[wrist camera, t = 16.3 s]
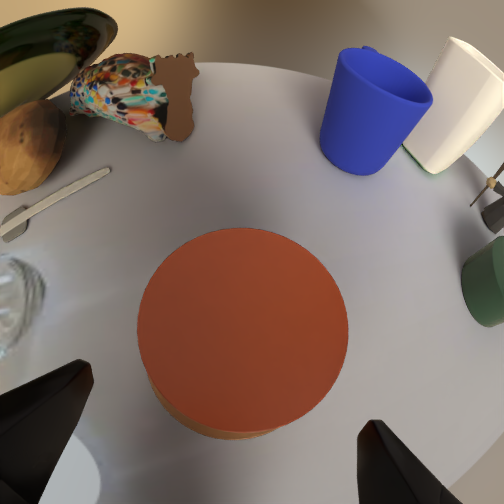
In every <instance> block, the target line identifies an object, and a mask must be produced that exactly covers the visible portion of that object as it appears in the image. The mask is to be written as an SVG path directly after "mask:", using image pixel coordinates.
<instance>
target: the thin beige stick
mask: <svg viewBox="0 0 504 504" xmlns="http://www.w3.org/2000/svg"><path fill="white" fill-rule="evenodd" d="M109 172H110V171H109V168H104V169H102V170H99V171H97V172H95V173H92V174H90V175H88V176H86V177H84V178H82V179H80V180H78V181H76V182H74V183H72V184H70V185H68V186H66V187H64V188H63V189H61V190H59V191H57V192H55V193H54V194H52V195H50V196H48V197H47V198H45V199H43V200H41V201H40V202H38V203H36V204H35V205H33V206H32V207H30V208H28V209H27V210H26V209H25V208H24V207H20V208H18V209H17V210H15V211H14V212H12V213H11V214H9V215H8V216H6V217H5V218H4V220H3V222H2V226H1V227H0V237H1V236H2V237H3V241H4V242H6V243H7V242H10V241H11V240H13V239H14V238H16V237H17V236H19V235H20V234H22V233H23V232H24V231H25V230H26V228H27V219H28V218H30V217H32V216H33V215H35V214H36V213H38V212H40V211H41V210H43V209H45V208H47V207H48V206H50V205H52V204H53V203H55V202H57V201H59V200H61V199H62V198H64V197H66V196H68V195H70V194H72V193H73V192H75V191H77V190H79V189H81V188H83V187H85V186H86V185H88V184H90V183H92V182H94V181H96V180H97V179H99V178H101V177H103V176H105V175H106V174H108V173H109Z"/></svg>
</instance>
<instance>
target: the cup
mask: <svg viewBox="0 0 504 504" xmlns="http://www.w3.org/2000/svg"><path fill="white" fill-rule="evenodd" d="M425 84H426V85H427V87H428V88H429V90H430V91H431V93H432V96H433V103H432V105H431V107H430V108H429V109H428V111H427V112H426V113H425V114H424V116H423V117H422V118H421V120H420V121H419V122H418V124H417V125H416V126H415V128H414V129H413V130H412V131H411V133H410V134H409V135H408V137H407V138H406V139H405V140H404V142H403V145H404V147H405V149H406V150H407V151H408V152H409V153H410V154H411V156H412V157H413V158H414V159H415V160H416V161H417V162H418V163H419V165H420V166H421V167H422V168H423V169H424V170H425V171H427V172H429V173H432V174H437V173H439V172H441V171H443V170H445V169H446V168H448V167H449V166H450V165H452V164H453V163H454V162H455V161H456V160H457V159H458V158H459V157H461V156H462V155H463V154H464V153H465V152H466V151H467V150H468V149H469V148H470V147H471V146H472V145H473V144H474V143H475V142H476V141H477V140H478V139H479V138H480V136H481V135H482V134H483V133H484V132H485V131H486V130H487V128H488V127H489V126H490V125H491V124H492V123H493V121H494V120H495V119H496V118H497V116H498V115H499V114H500V112H501V111H502V110H503V108H504V73H503V72H502V71H501V70H500V69H499V68H498V67H497V66H495V64H493V63H492V62H491V61H490V60H489V59H488V58H487V57H485V56H484V55H483V54H482V53H480V52H479V51H478V50H477V49H475V48H474V47H473V46H471V45H470V44H468V43H466V42H463V41H461V40H459V39H456V38H454V37H448V40H447V42H446V43H445V45H444V47H443V49H442V51H441V53H440V55H439V57H438V59H437V61H436V63H435V65H434V67H433V69H432V71H431V73H430V75H429V77H428V79H427V81H426V83H425Z"/></svg>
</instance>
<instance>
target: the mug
mask: <svg viewBox="0 0 504 504" xmlns="http://www.w3.org/2000/svg"><path fill="white" fill-rule="evenodd" d="M432 103H433V96H432V93H431V91H430V90H429V88H428V87H427V85H426V84H425V83H424V82H423V81H422V80H421V79H420V78H419V77H418V76H417V75H416V74H414V73H413V72H412V71H411V70H409V69H408V68H406V67H405V66H403V65H402V64H400V63H398V62H397V61H394V60H393V59H391V58H389V57H386V56H384V55H382V54H379V53H378V52H377V51H376V50H375V49H373V48H371V47H368V46H363V47H362V49H360V48H348V49H344V50H342V51H341V52H340V53H339V56H338V60H337V65H336V69H335V73H334V78H333V82H332V86H331V90H330V94H329V98H328V102H327V106H326V110H325V114H324V118H323V122H322V126H321V130H320V145H321V148H322V151H323V152H324V154H325V156H326V157H327V158H328V159H329V160H330V161H331V162H332V163H333V164H334V165H335V166H337V167H338V168H340V169H342V170H343V171H346V172H348V173H351V174H355V175H363V176H364V175H371V174H373V173H376V172H377V171H379V170H380V169H381V168H382V167H383V166H384V165H385V164H386V163H387V162H388V160H389V159H390V158H391V157H392V155H393V154H394V153H395V152H396V150H397V149H398V148H399V147H400V145H401V144H402V143H403V142H404V140H405V139H406V138H407V137H408V135H409V134H410V133H411V131H412V130H413V129H414V128H415V126H416V125H417V124H418V122H419V121H420V120H421V118H422V117H423V116H424V114H425V113H426V112H427V111H428V109H429V108H430V107H431V105H432Z"/></svg>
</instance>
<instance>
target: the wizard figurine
mask: <svg viewBox="0 0 504 504" xmlns="http://www.w3.org/2000/svg"><path fill="white" fill-rule="evenodd" d="M503 170H504V163H503V164H502V165H501V167H500V168H499V170H498V171H497V172H496V174H495V175H494V176H493V177H490V178H487V181H486V184H487V185H486V187H485V188H484V189H483V190H482V191H481V193H480V194H479V195H478V196H477V198H476V199H475V200H474V201H473V202H472V203H471V205H470V206H472V205H473V204H474V203H475V201H476V200H477V199H478V198H479V197H480V196H481V195H482V194H483V193H484V192H485V190H486V189H487V188H488V187H490V189H492V188H494V190H493V191H495V192H497V193H498V194H500V195H502V196H503V197H502V198H500V199H498V200H497V201H495V202H493V203H492V204H490V205H488V206H487V207H485V208H484V211H483V212H482V213H481V214H482V216H483V219H484V220H485V222H486V224H487V225H488V227H489V229H490V230H492V231H493V232H494V233H495V234H496V233H497V232H499V231H500V230H501V229H502V228H503V227H504V187H503V186H502V185H501V184H500V182H499V181H498V182H497V183H496V180H495V179H496V178H497V177H498V176H499V175H500V173H501V172H502V171H503Z"/></svg>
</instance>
